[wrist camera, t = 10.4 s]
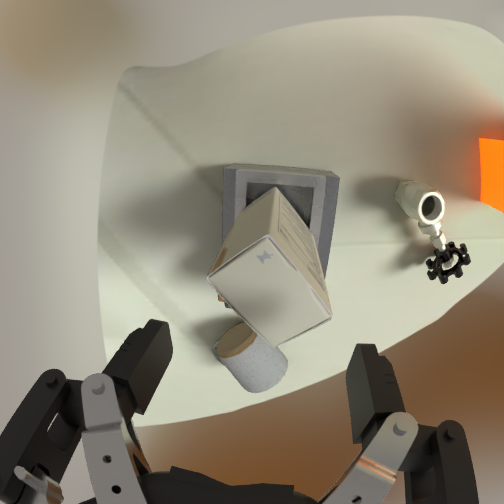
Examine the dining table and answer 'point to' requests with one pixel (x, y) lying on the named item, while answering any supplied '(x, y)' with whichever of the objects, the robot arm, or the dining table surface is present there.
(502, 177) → the orange juice
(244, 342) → the ceramic mug
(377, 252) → the dining table surface
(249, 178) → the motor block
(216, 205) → the dining table surface
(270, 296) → the skincare box
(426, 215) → the valve
